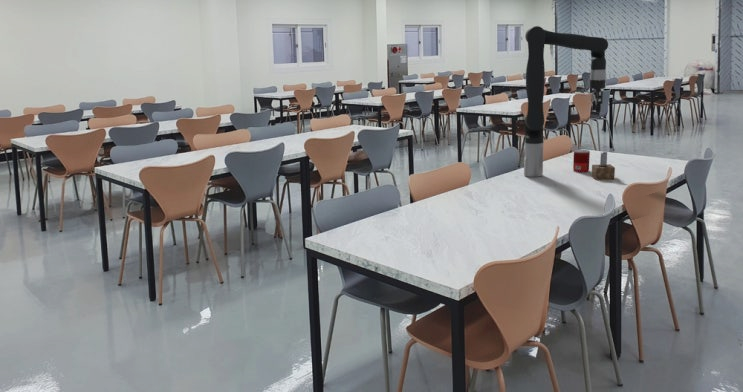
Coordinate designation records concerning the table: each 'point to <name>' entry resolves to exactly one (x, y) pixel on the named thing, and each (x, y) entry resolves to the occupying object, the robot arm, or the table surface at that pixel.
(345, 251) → the table surface
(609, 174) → the socket block
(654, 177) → the table surface
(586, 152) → the canned food
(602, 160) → the pin
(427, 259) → the table surface
